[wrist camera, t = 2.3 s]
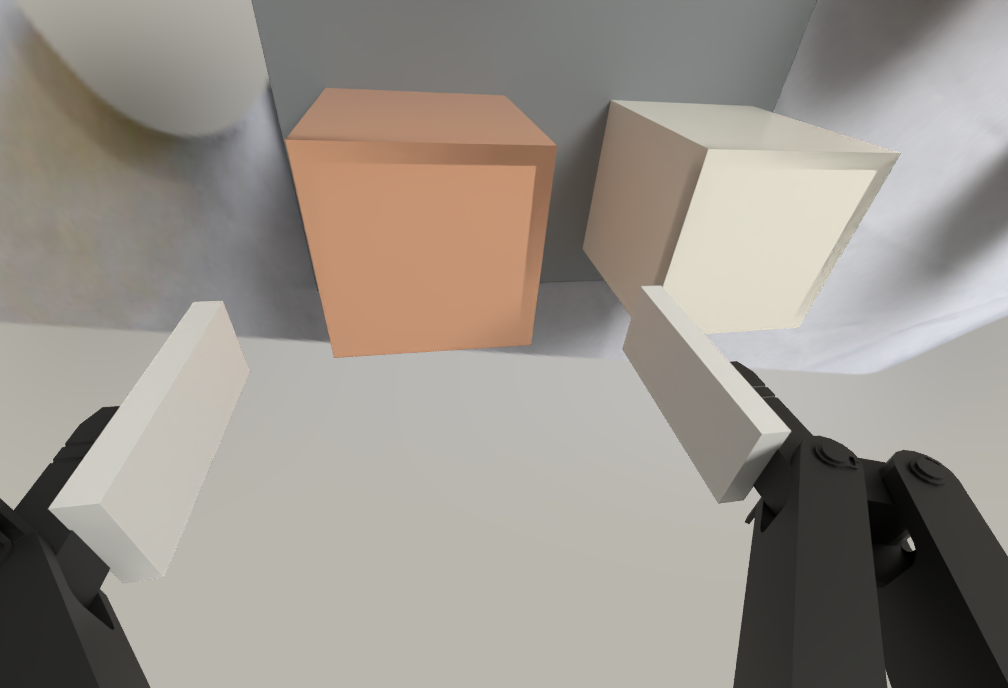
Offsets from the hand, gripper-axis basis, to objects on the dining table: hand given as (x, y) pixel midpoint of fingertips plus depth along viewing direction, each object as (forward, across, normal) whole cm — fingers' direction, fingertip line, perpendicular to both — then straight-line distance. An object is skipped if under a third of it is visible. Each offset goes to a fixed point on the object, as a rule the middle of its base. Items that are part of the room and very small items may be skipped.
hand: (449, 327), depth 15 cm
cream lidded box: (+14, +15, 0) cm, 20 cm away
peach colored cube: (+14, 0, 0) cm, 14 cm away
